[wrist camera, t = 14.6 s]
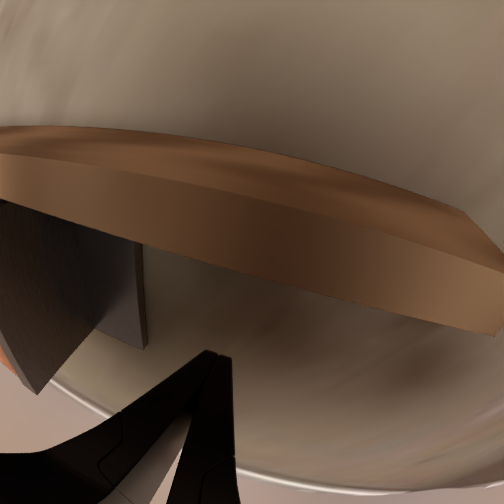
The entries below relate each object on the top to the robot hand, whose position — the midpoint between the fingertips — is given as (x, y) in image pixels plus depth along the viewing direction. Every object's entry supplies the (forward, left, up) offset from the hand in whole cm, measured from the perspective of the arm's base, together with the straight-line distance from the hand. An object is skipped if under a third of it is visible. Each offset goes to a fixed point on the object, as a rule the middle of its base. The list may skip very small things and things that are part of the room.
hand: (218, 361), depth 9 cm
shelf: (+5, 0, -3) cm, 6 cm away
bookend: (+6, 0, -3) cm, 7 cm away
